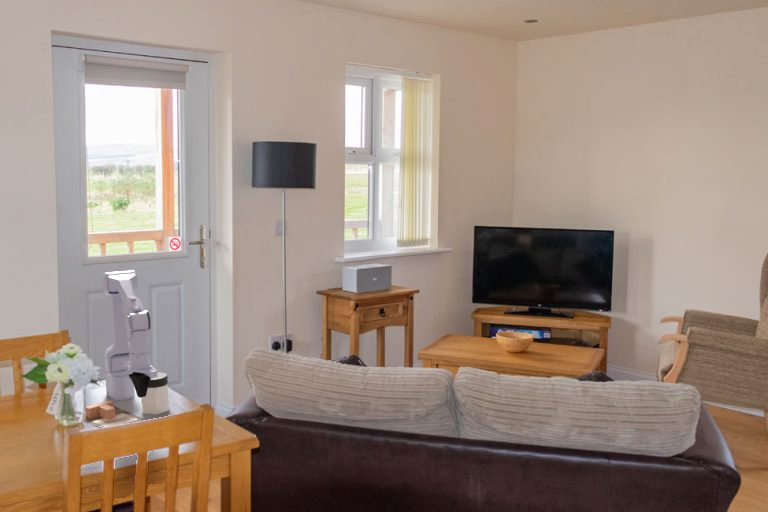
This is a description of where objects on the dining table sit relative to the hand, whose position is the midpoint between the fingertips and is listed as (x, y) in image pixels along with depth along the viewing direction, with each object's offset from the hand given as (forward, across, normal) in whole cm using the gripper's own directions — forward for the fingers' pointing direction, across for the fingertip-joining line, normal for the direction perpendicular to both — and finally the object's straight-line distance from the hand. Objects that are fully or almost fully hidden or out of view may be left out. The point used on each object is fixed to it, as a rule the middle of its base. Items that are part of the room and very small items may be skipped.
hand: (141, 396), depth 236 cm
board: (+10, -13, -4) cm, 17 cm away
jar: (+10, -8, +9) cm, 16 cm away
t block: (+8, -15, -4) cm, 17 cm away
